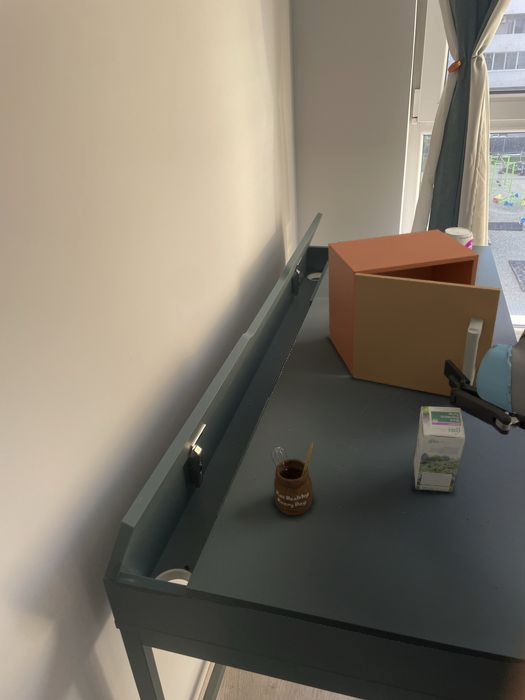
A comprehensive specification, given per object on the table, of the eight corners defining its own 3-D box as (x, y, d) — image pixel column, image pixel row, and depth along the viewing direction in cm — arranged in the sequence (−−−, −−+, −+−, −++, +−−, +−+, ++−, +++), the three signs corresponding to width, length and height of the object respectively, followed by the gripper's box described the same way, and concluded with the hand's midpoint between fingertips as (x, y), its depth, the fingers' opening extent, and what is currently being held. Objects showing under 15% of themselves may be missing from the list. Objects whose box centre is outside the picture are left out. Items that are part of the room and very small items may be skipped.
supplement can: (472, 279, 154) (479, 229, 146) (459, 289, 149) (465, 237, 141) (446, 273, 159) (451, 225, 151) (432, 282, 154) (437, 232, 146)
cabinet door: (477, 420, 98) (496, 304, 86) (343, 392, 109) (344, 286, 97) (482, 399, 103) (501, 288, 91) (354, 375, 114) (356, 272, 102)
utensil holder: (276, 488, 87) (271, 431, 81) (315, 489, 86) (313, 431, 80) (273, 516, 82) (268, 457, 76) (314, 517, 81) (312, 457, 75)
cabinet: (464, 357, 117) (479, 254, 105) (352, 375, 114) (354, 271, 102) (429, 322, 133) (437, 229, 121) (329, 337, 130) (328, 243, 118)
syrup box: (448, 463, 87) (461, 404, 77) (452, 494, 83) (466, 436, 73) (413, 460, 88) (421, 403, 79) (415, 491, 84) (423, 434, 74)
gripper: (479, 481, 69) (412, 391, 87) (651, 448, 71) (551, 367, 90) (487, 436, 65) (415, 352, 83) (669, 403, 68) (560, 328, 86)
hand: (485, 360), depth 86 cm, fingers open, 13 cm apart
